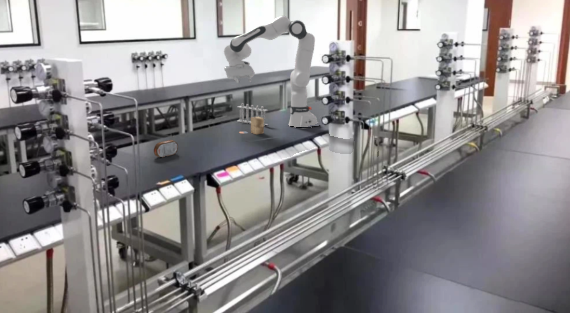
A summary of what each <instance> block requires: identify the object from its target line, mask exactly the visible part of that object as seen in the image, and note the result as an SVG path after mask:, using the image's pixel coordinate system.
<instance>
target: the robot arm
mask: <svg viewBox="0 0 570 313" xmlns="http://www.w3.org/2000/svg"><path fill="white" fill-rule="evenodd" d="M306 29H307V28H306V24H305V23H304V22H303V21H302V20H300V19H299V20H298V19H297V20H292V21H291V20H290V19H289V17H287V16H286V15H281V16H278V17H276V18H274V19H273V20H271V21H270V22H267V23H266V24H264V25H260V26H257V27H255V28H253V29H251V30H249V31H248V32H244V33H243V34H241V35H237V36H235V37H233V38H232V39H231V41H230V44H227V45H226V46H225V47H224V50H223V54H224V56H225V59H226V61H227V62H228V65H229V66H225V67H223V68H224V71H225V75H226V77H227V79H229V80H234V81H235V83H236V84H240V83H241V82H240V79H244V78H245V79H248V80H247V82H248V83H252V78H253V77H254V76H255V70H254V68H253V67H252V66H251V65H250V62H249V61H245V59H247V58H249V57H250V56H251V54H252V47H251V46H250V45H249V44H248V43H250V42H252V41H254V40H256V39H258V38H262V39H266V40H268V41H273V40H276V39H277V38H278V37H280V36H281V35H283V34H284V33H289V34H290V35H291V36H292V37H294V38H295V39H298V45H297V50H296V54H295V58H294V60H295V61H294V62H295V63H294V69H293V70H292V71H291V73H290V79H289V80H290V94H291V95H290V98H291V99H290V108H289V109H290V110H289V111H290V112H289V113H290V115H289V116H290V118H289V122H288V125H289V126H288V127H290V126H294V127H293V128H296V127H308V126H310V125H315V124H317V123H318V120H317V119H318V118H317V116H316V115H315V114H313V113H312V112H311V110H312V108H313V107H312V106H308V92H307V90H308V89H307V86H308V84H309V83H310V77H311V69H312V68H311V66H312V60H313V57H314V56H313V54H314V51H315V46H316V45H315V42H316V38H315V36H314V35H313V34H312V33H310V32H307V30H306Z"/></svg>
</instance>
